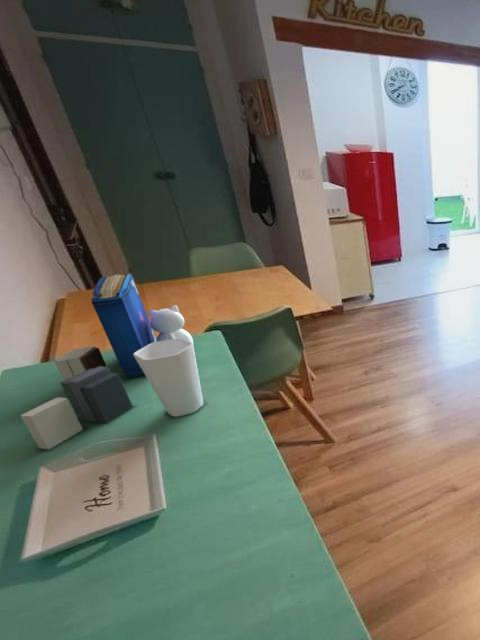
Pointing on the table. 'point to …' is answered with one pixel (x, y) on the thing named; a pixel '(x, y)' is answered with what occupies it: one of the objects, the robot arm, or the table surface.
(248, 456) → the table surface
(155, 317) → the cat figurine
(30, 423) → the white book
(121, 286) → the book
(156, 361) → the cup
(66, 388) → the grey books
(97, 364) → the grey brown block
